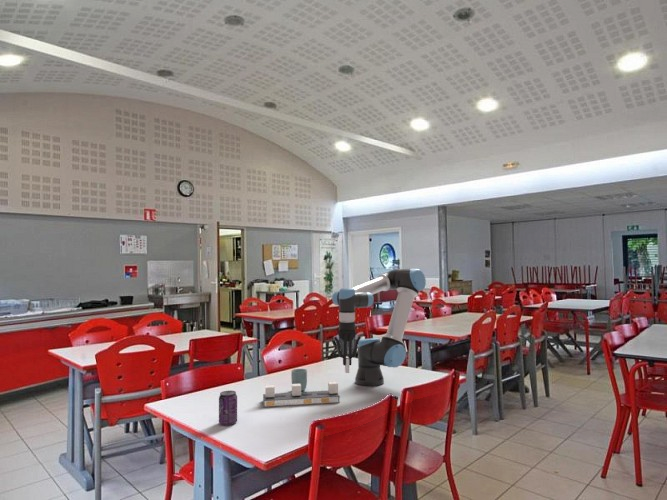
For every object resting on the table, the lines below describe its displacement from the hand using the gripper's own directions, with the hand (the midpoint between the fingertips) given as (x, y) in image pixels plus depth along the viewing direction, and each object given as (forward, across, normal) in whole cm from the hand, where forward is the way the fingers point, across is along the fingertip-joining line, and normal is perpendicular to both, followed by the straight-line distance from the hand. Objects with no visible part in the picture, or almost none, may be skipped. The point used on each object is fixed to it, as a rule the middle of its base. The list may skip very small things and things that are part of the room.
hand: (347, 372), depth 209 cm
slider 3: (+9, +7, 0) cm, 11 cm away
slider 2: (+9, +24, 0) cm, 25 cm away
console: (+13, +22, 0) cm, 25 cm away
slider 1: (+9, +36, 0) cm, 37 cm away
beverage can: (+13, +52, +23) cm, 59 cm away
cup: (+13, +20, -19) cm, 31 cm away
